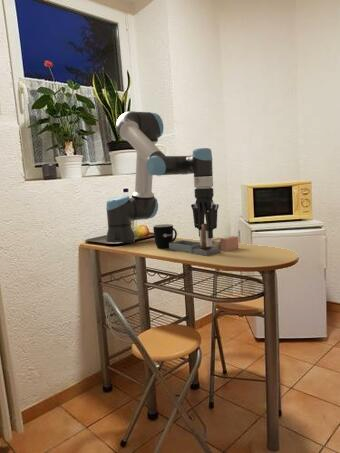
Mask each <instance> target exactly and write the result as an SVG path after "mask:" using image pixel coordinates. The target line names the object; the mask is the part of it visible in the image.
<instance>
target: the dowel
mask: <svg viewBox="0 0 340 453" xmlns="http://www.w3.org/2000/svg"><path fill="white" fill-rule="evenodd" d="M201 225H202V246H203V249H205V250H207V249H210V246H209V247H206V229H207V224H206V222H204V224H201Z"/></svg>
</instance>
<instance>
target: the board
mask: <svg viewBox="0 0 340 453" xmlns="http://www.w3.org/2000/svg"><path fill="white" fill-rule="evenodd" d="M221 238H222V237H215V236H213V238H212V247H219V248H220V251H221V245H220V239H221Z"/></svg>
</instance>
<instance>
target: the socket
mask: <svg viewBox="0 0 340 453" xmlns="http://www.w3.org/2000/svg"><path fill="white" fill-rule="evenodd" d="M192 250H193V253H192V255H193V254H195V255H200V256H206V257H208V256H213V255H216V254H219V253H221V250H220V248H219V247H212V246H210V249H207V250H205V249H203V246H202V247H198V248H193V249H192Z"/></svg>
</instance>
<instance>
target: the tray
mask: <svg viewBox="0 0 340 453" xmlns="http://www.w3.org/2000/svg"><path fill="white" fill-rule="evenodd" d="M198 247H202V246H200V241H199V242H198V241H194V240H193V241H192V240H185V239H184V240H183V239H182V240H175V241H173V242H171V243H169V248H168V249H169V250H170V251H175V252H180V253H182V252H183V253H186V254H188V253H189V254H193V250H192V249H193V248H198Z"/></svg>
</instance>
